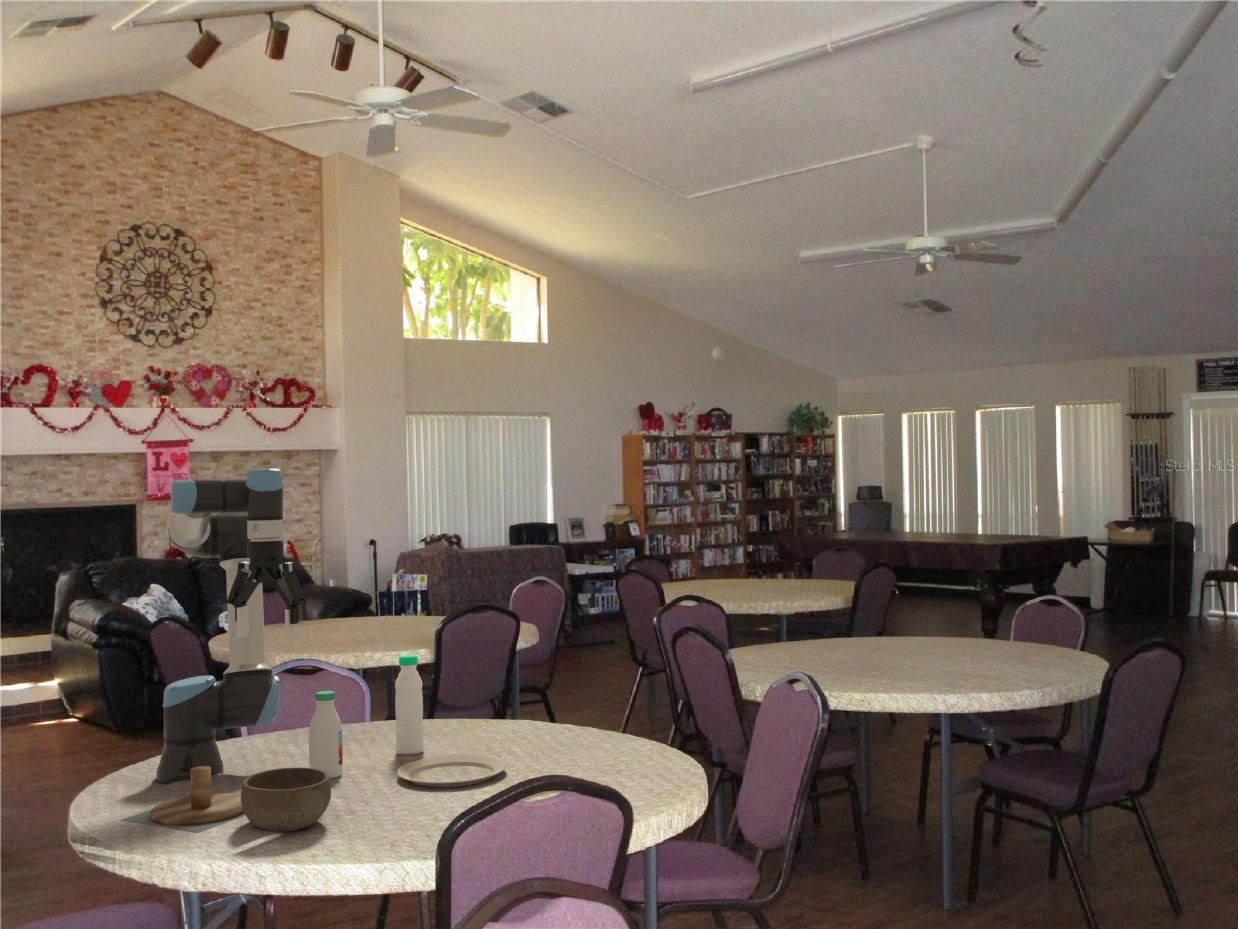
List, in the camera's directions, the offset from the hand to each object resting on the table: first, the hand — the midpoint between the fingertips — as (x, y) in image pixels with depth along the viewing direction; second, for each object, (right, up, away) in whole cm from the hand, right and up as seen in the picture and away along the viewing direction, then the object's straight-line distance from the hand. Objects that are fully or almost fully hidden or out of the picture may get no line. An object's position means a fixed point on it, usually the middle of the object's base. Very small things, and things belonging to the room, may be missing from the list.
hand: (266, 638), depth 239 cm
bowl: (+8, -36, -14) cm, 40 cm away
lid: (-12, -36, -5) cm, 38 cm away
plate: (+36, -37, +24) cm, 57 cm away
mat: (-12, -37, -5) cm, 39 cm away
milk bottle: (+6, -37, +26) cm, 46 cm away
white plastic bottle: (+22, -37, +48) cm, 65 cm away
